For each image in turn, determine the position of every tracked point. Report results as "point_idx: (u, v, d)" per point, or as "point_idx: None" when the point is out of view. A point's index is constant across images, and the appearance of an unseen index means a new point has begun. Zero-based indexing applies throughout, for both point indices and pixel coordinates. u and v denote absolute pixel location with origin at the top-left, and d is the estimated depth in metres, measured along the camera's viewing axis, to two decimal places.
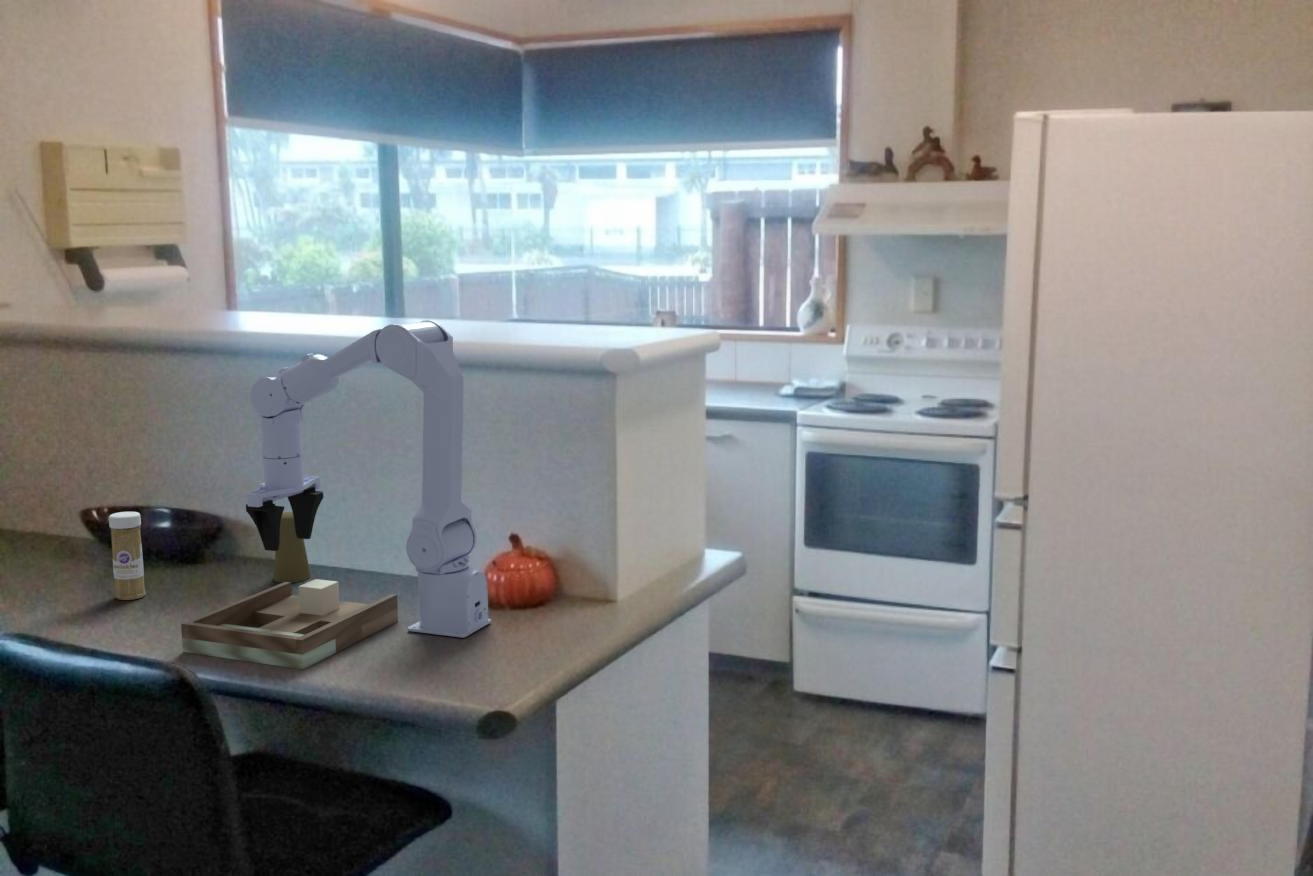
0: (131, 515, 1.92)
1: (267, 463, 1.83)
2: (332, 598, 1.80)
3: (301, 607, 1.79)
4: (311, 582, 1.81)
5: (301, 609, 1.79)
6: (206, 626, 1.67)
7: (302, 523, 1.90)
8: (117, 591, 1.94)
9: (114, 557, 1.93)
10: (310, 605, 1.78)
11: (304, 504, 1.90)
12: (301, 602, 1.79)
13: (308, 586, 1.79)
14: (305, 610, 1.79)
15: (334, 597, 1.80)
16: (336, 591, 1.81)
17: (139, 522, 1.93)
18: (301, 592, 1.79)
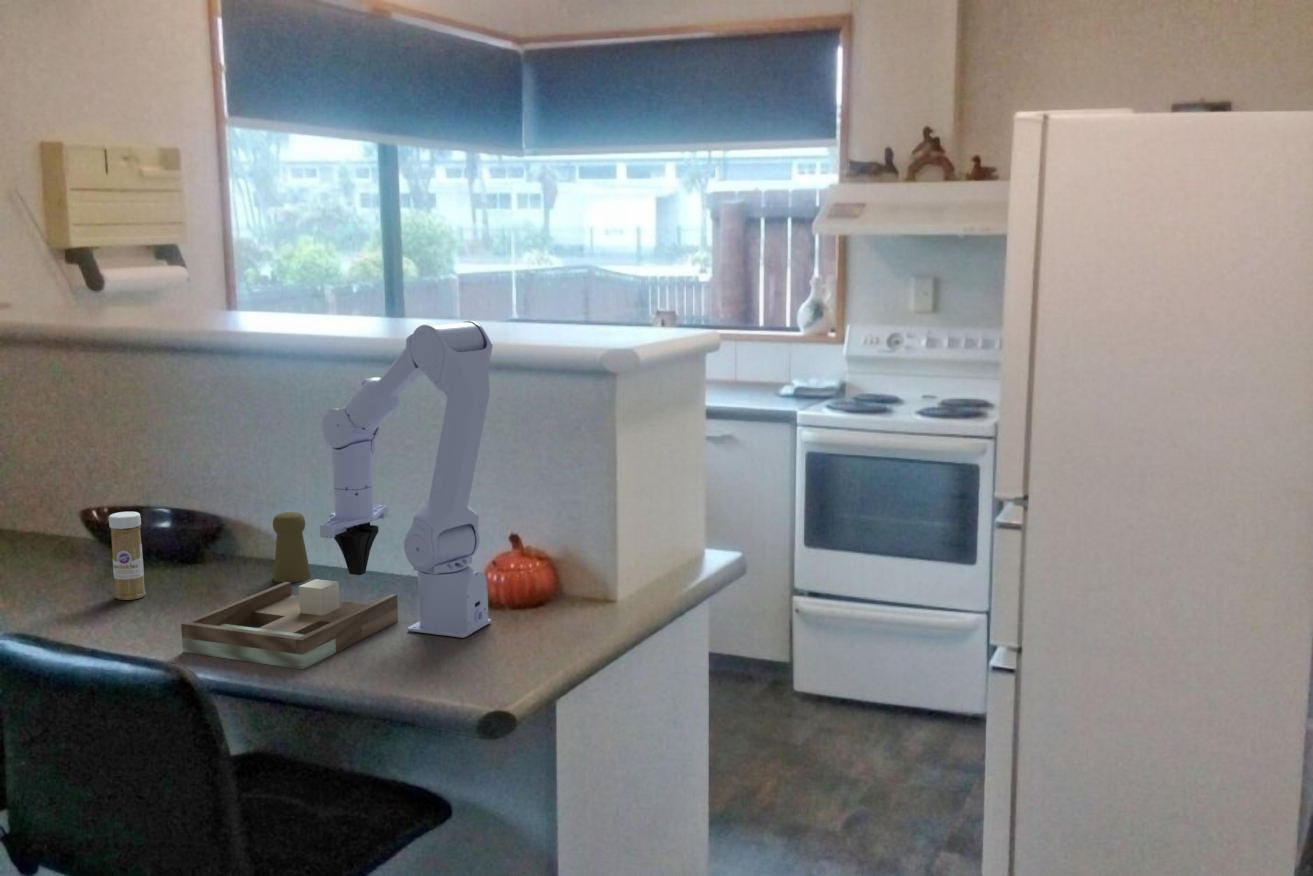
0: (131, 515, 1.92)
1: (338, 494, 1.84)
2: (332, 598, 1.80)
3: (301, 607, 1.79)
4: (311, 582, 1.81)
5: (301, 609, 1.79)
6: (206, 626, 1.67)
7: None
8: (117, 591, 1.94)
9: (114, 557, 1.93)
10: (310, 605, 1.78)
11: None
12: (301, 602, 1.79)
13: (308, 586, 1.79)
14: (305, 610, 1.79)
15: (334, 597, 1.80)
16: (336, 591, 1.81)
17: (139, 522, 1.93)
18: (301, 592, 1.79)
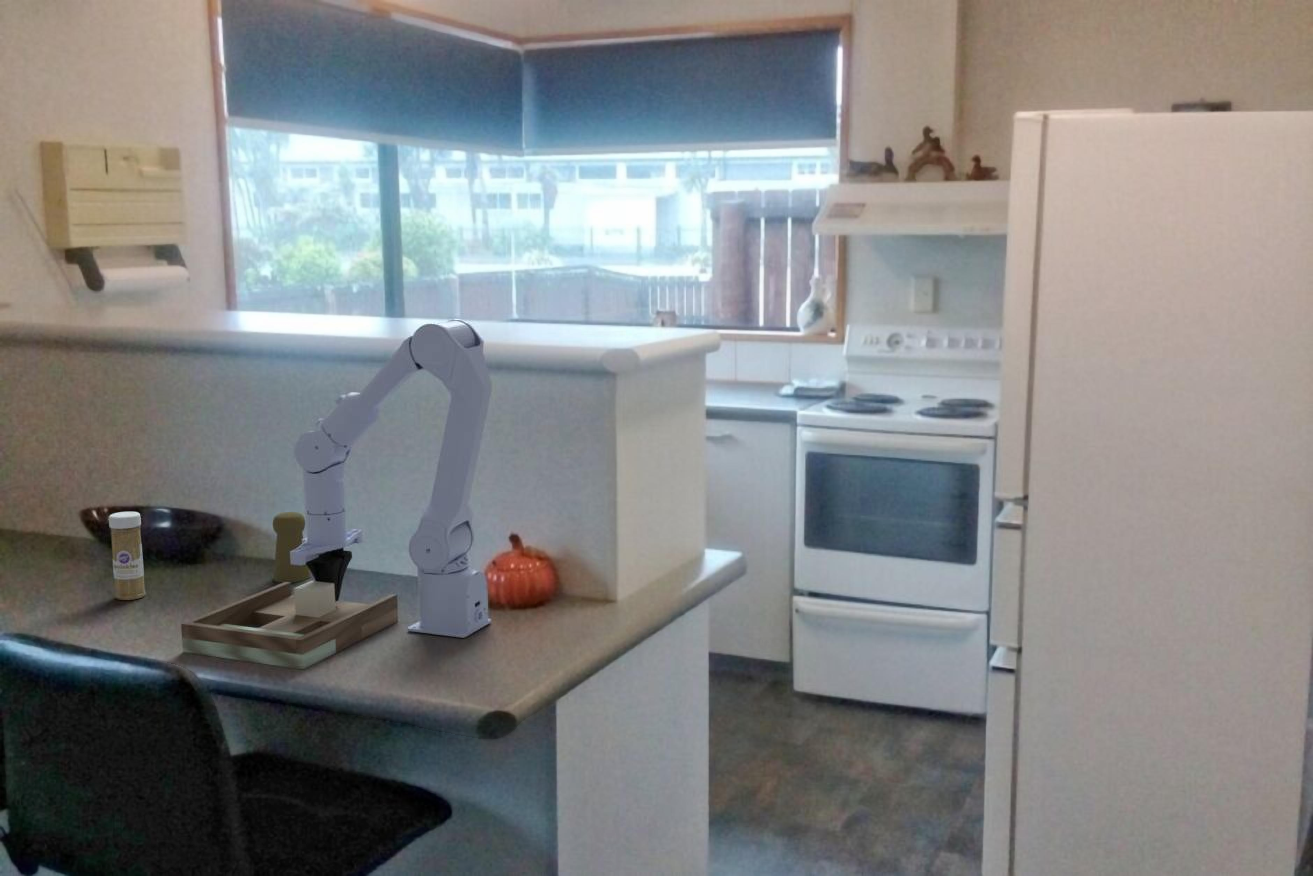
0: (131, 515, 1.92)
1: (310, 519, 1.78)
2: (328, 600, 1.79)
3: (297, 609, 1.78)
4: (307, 584, 1.80)
5: (297, 611, 1.78)
6: (206, 626, 1.67)
7: None
8: (117, 591, 1.94)
9: (114, 557, 1.93)
10: (306, 606, 1.78)
11: None
12: (297, 604, 1.78)
13: (304, 588, 1.78)
14: (301, 612, 1.78)
15: (330, 599, 1.79)
16: (332, 593, 1.80)
17: (139, 522, 1.93)
18: (297, 594, 1.78)
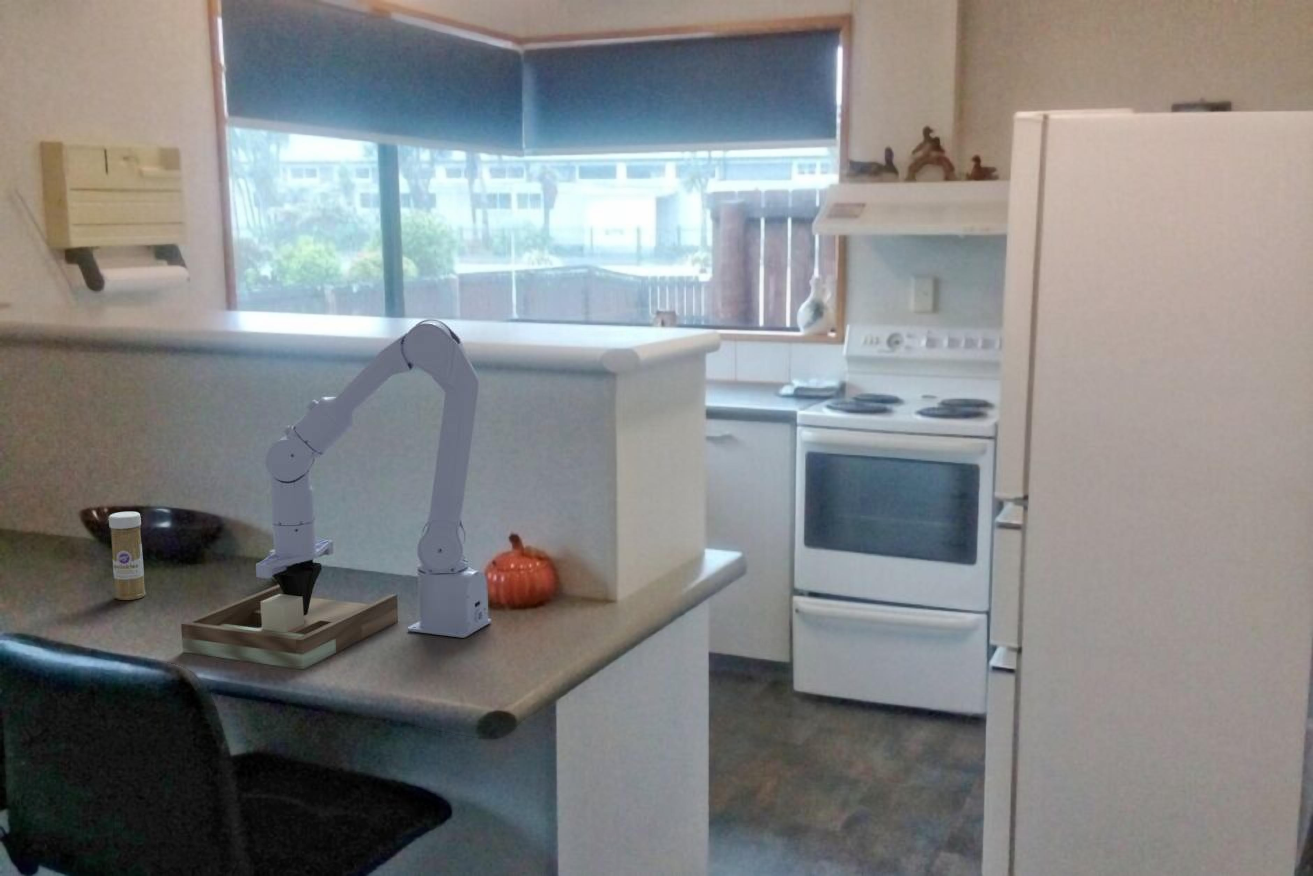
0: (131, 515, 1.92)
1: (277, 530, 1.72)
2: (296, 614, 1.72)
3: (263, 623, 1.72)
4: (274, 597, 1.73)
5: (263, 625, 1.72)
6: (206, 626, 1.67)
7: None
8: (117, 591, 1.94)
9: (114, 557, 1.93)
10: (272, 621, 1.71)
11: None
12: (263, 618, 1.72)
13: (270, 601, 1.71)
14: (267, 626, 1.72)
15: (298, 613, 1.73)
16: (300, 607, 1.73)
17: (139, 522, 1.93)
18: (263, 608, 1.71)
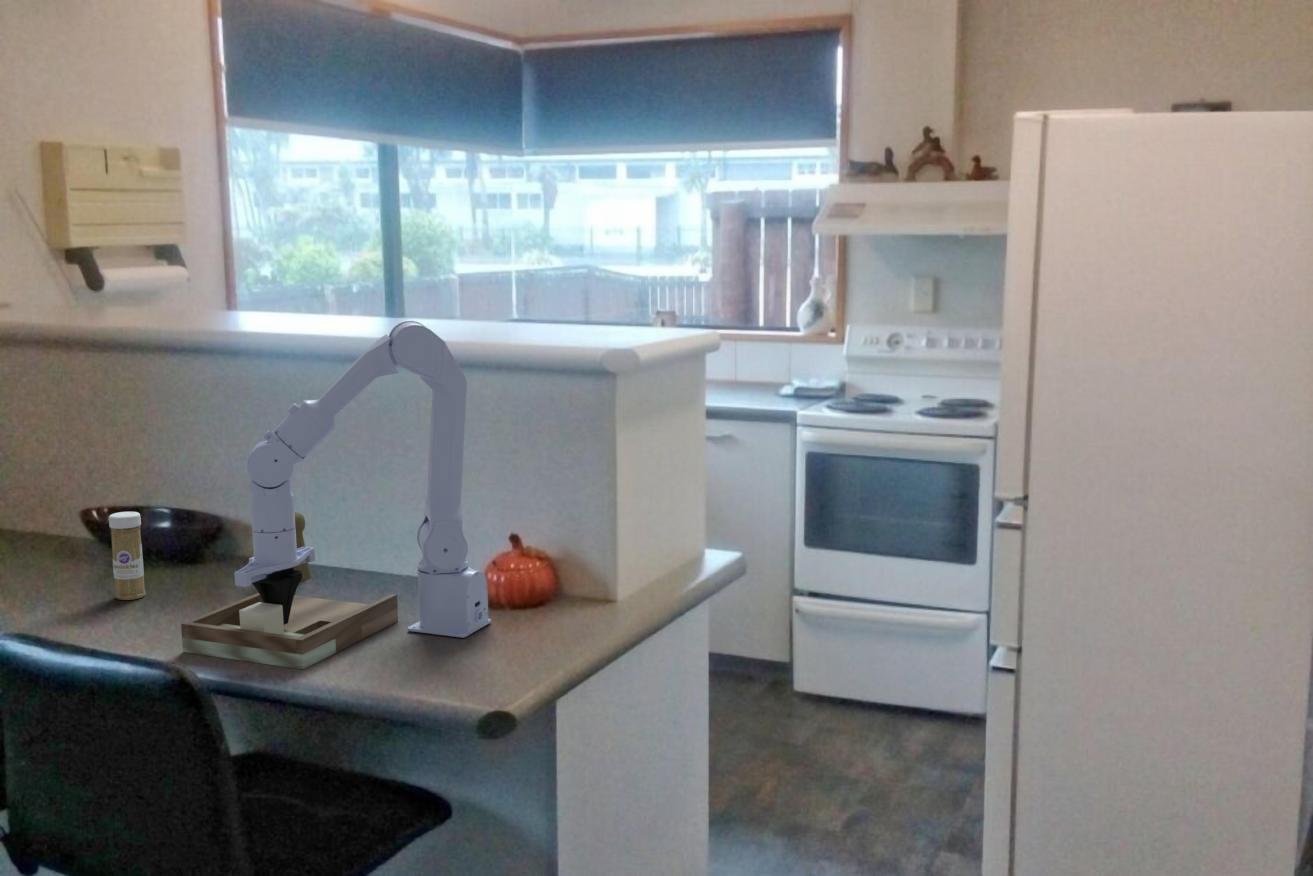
0: (131, 515, 1.92)
1: (257, 537, 1.68)
2: (275, 623, 1.68)
3: None
4: (253, 606, 1.69)
5: None
6: (206, 626, 1.67)
7: None
8: (117, 591, 1.94)
9: (114, 557, 1.93)
10: None
11: None
12: (242, 627, 1.68)
13: (249, 610, 1.67)
14: None
15: (278, 622, 1.69)
16: (280, 615, 1.69)
17: (139, 522, 1.93)
18: (242, 617, 1.67)
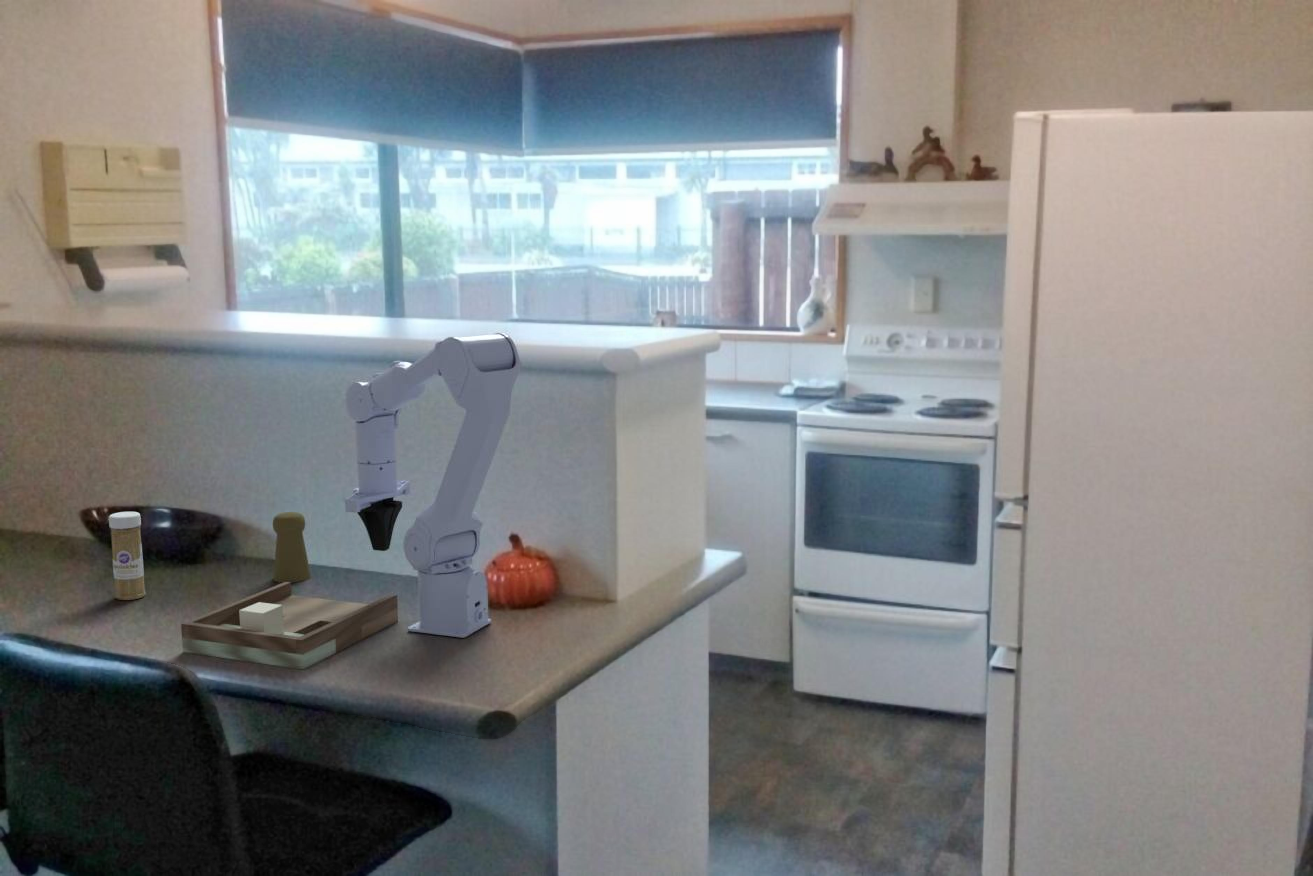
0: (131, 515, 1.92)
1: (363, 468, 1.83)
2: (275, 623, 1.68)
3: None
4: (253, 606, 1.69)
5: None
6: (206, 626, 1.67)
7: None
8: (117, 591, 1.94)
9: (114, 557, 1.93)
10: None
11: None
12: (242, 627, 1.68)
13: (249, 610, 1.67)
14: None
15: (278, 622, 1.69)
16: (280, 615, 1.69)
17: (139, 522, 1.93)
18: (242, 616, 1.67)
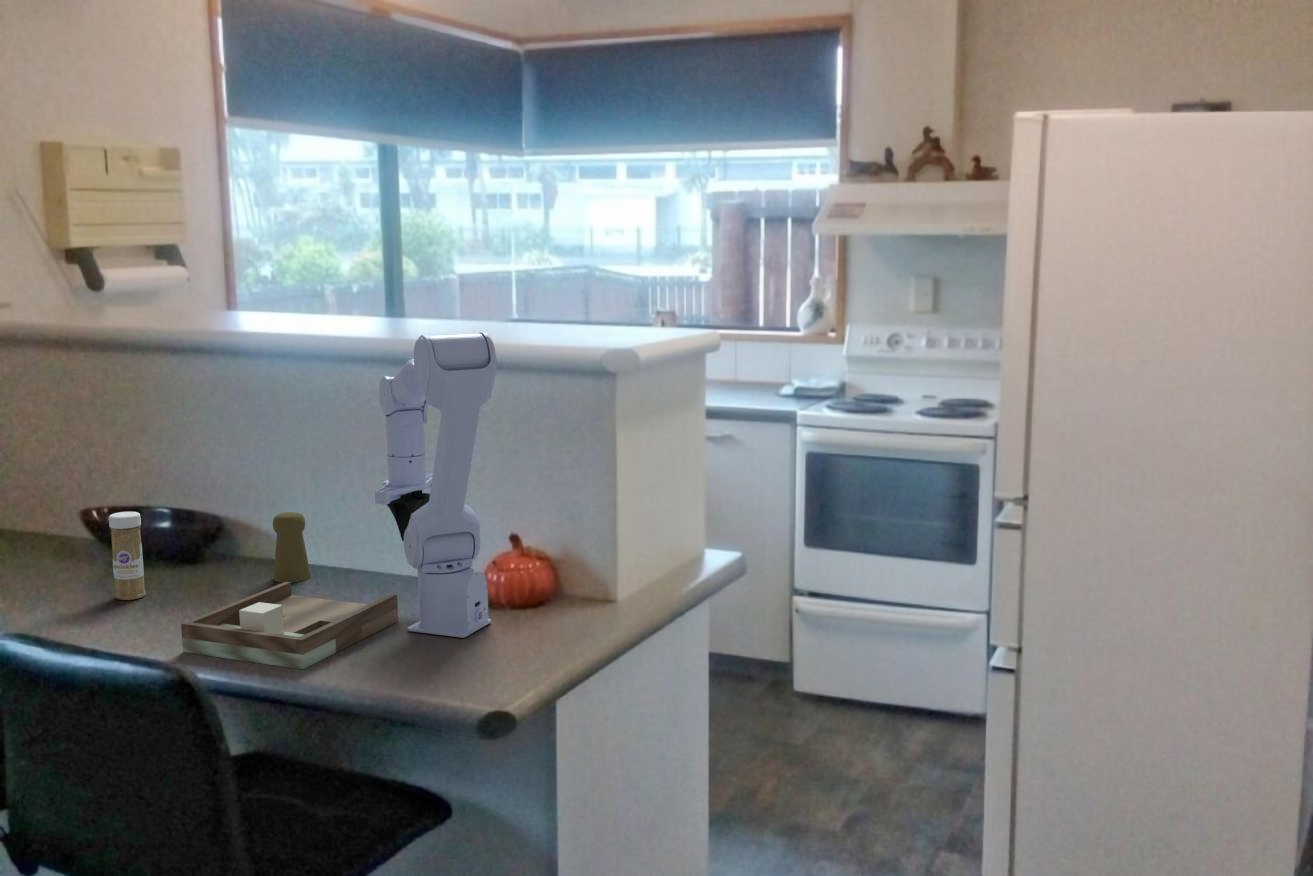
0: (131, 515, 1.92)
1: (392, 461, 1.87)
2: (275, 623, 1.68)
3: None
4: (253, 606, 1.69)
5: None
6: (206, 626, 1.67)
7: None
8: (117, 591, 1.94)
9: (114, 557, 1.93)
10: None
11: None
12: (242, 627, 1.68)
13: (249, 610, 1.67)
14: None
15: (278, 622, 1.69)
16: (280, 615, 1.69)
17: (139, 522, 1.93)
18: (242, 616, 1.67)
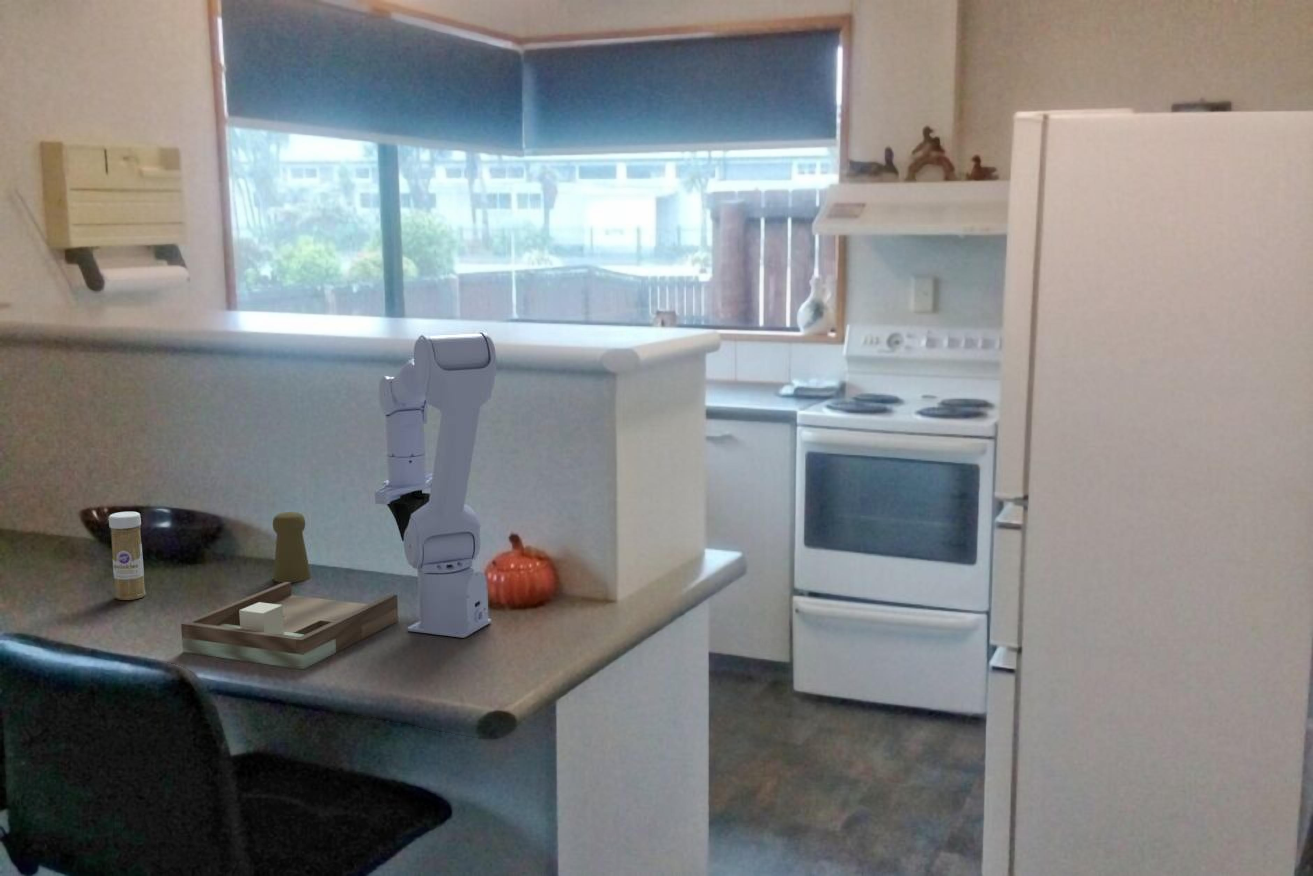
0: (131, 515, 1.92)
1: (392, 461, 1.87)
2: (275, 623, 1.68)
3: None
4: (253, 606, 1.69)
5: None
6: (206, 626, 1.67)
7: None
8: (117, 591, 1.94)
9: (114, 557, 1.93)
10: None
11: None
12: (242, 627, 1.68)
13: (249, 610, 1.67)
14: None
15: (278, 622, 1.69)
16: (280, 615, 1.69)
17: (139, 522, 1.93)
18: (242, 616, 1.67)
